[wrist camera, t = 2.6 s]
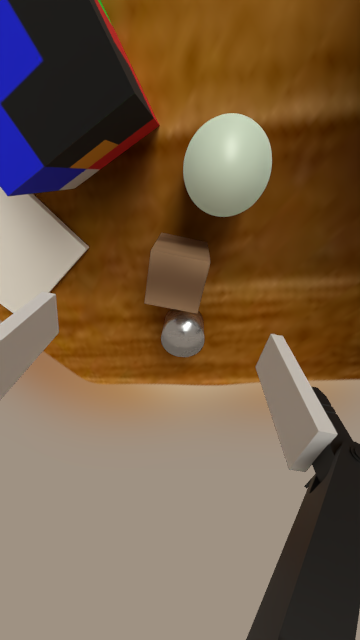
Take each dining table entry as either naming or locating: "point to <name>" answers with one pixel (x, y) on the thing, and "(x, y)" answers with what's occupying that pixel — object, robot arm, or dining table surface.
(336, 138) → the dining table surface
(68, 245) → the plate
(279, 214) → the dining table surface
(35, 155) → the puzzle toy
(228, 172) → the pale green egg
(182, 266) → the walnut block
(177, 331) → the grey tin
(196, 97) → the dining table surface
